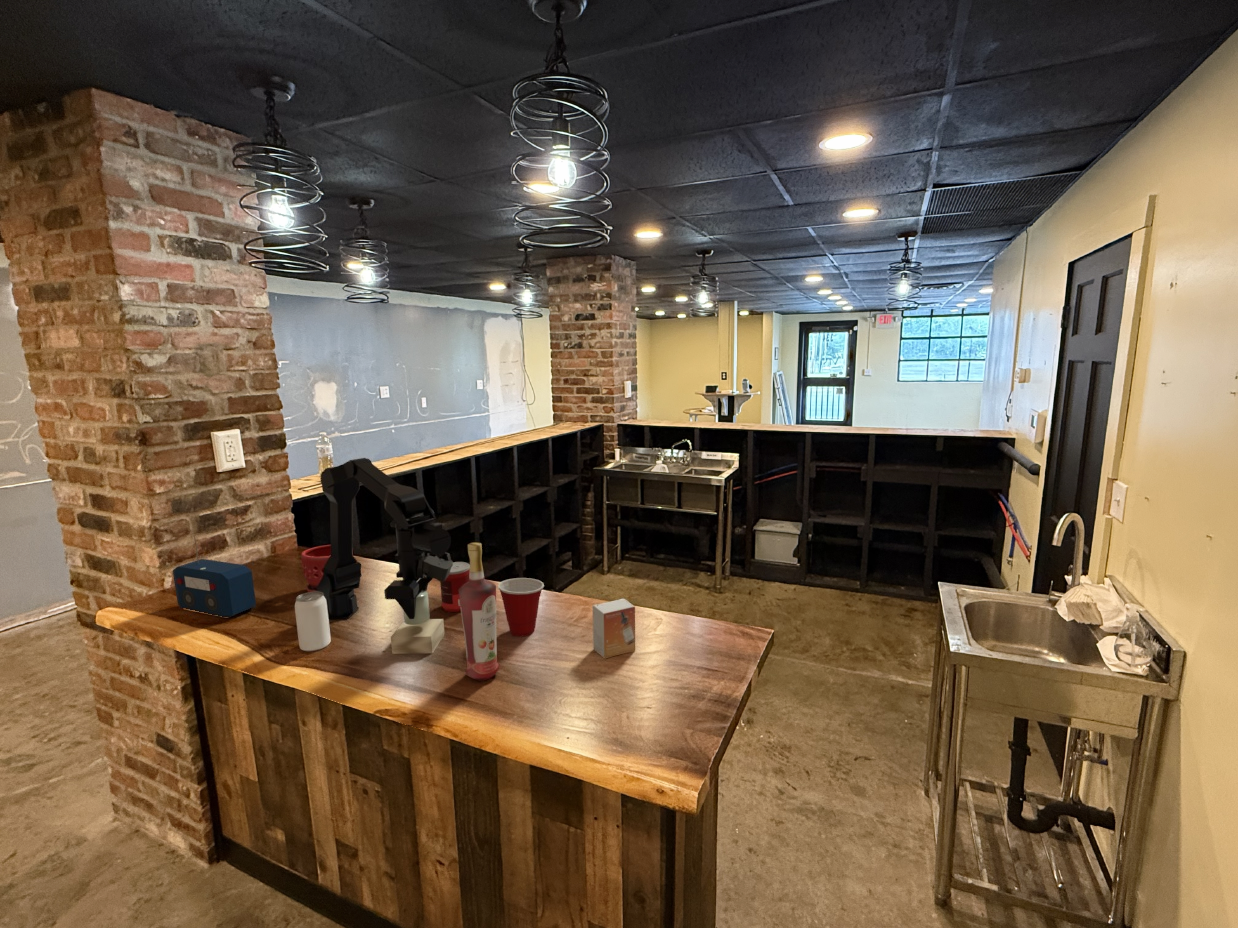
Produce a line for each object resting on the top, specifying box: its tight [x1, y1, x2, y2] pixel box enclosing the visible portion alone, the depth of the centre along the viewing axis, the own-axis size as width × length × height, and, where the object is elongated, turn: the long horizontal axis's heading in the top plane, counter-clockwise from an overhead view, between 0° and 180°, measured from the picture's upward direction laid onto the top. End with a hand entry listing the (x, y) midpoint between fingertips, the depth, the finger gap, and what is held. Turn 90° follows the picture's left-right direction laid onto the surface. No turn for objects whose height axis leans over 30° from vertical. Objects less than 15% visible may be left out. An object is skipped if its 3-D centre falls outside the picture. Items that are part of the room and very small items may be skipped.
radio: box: [172, 535, 257, 618], centre depth 156 cm, size 21×9×20 cm, turn 69°
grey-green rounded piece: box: [402, 590, 431, 625], centre depth 135 cm, size 6×6×6 cm
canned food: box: [439, 561, 470, 613], centre depth 156 cm, size 8×8×11 cm
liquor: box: [459, 542, 501, 681], centre depth 120 cm, size 7×7×28 cm
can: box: [294, 591, 332, 652], centre depth 136 cm, size 6×6×12 cm
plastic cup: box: [497, 577, 545, 637], centre depth 141 cm, size 11×11×12 cm
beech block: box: [390, 618, 445, 655], centre depth 136 cm, size 9×9×4 cm
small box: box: [592, 598, 636, 659], centre depth 131 cm, size 8×6×10 cm
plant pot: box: [300, 544, 354, 593], centre depth 169 cm, size 13×13×12 cm
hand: (416, 613), depth 135 cm, fingers closed on grey-green rounded piece, 5 cm apart
